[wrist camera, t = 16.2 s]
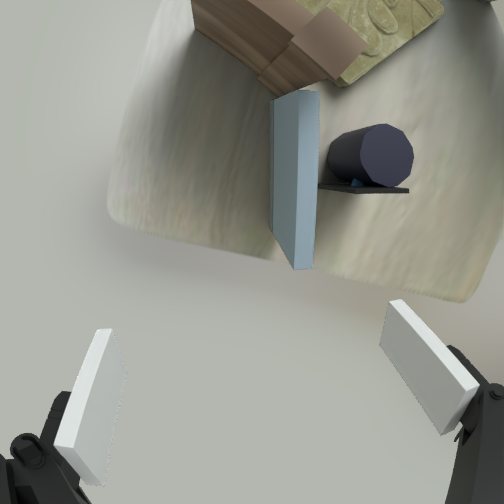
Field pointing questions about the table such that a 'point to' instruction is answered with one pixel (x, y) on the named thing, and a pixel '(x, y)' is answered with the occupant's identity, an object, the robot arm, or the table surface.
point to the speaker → (370, 160)
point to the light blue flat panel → (294, 174)
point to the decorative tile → (378, 27)
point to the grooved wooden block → (280, 40)
